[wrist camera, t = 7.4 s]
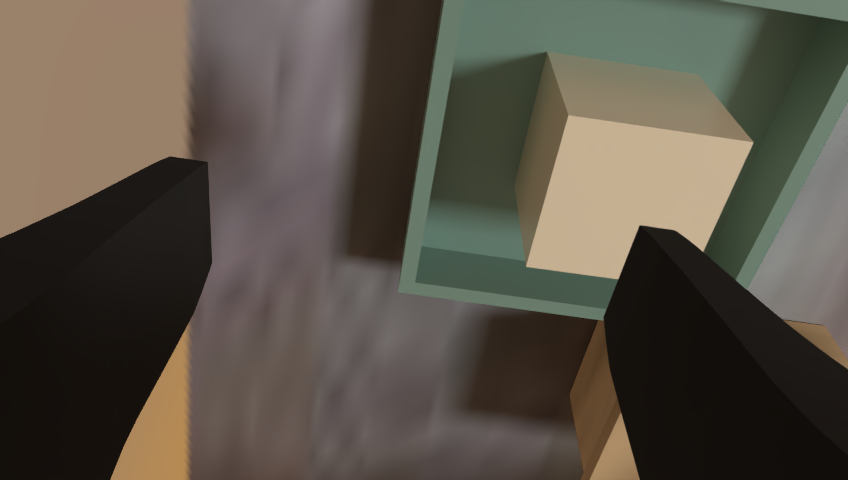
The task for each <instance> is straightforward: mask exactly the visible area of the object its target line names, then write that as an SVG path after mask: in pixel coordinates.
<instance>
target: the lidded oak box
mask: <svg viewBox="0 0 848 480" xmlns="http://www.w3.org/2000/svg"><path fill="white" fill-rule="evenodd" d="M783 321H785V322H786V323H787V324H788V325H790V326H791V327H792V328H793V329H795V330H796V331H797V332H799V333H800V334H801V335H802V336H804V337H805V338H806V339H808V340H809V341H810V342H812V343H813V344H814V345H815V346H817V347H818V348H819V349H821V350H822V351H823V352H825V353H826V354H827V355H829V356H830V357H832V358H833V359H834V360H836V361H837V362H838V363H840V364H841V365H843V366H844V367H846V368H847V369H848V360H847V358H846V357H845V355H844V354H843V352H842V351H841V349H840V348H839V346H838V345H837V343H836V342H835V341H834V339H833V338H832V336H831V335H830V333H829V332H828V330H827V329H826V327H825V326H822V325H815V324H808V323H801V322H793V321H786V320H783ZM569 396H570V401H571V406H572V412H573V417H574V423H575V428H576V434H577V439H578V444H579V450H580V455H581V461H582V466H583V472H584V473H583V475H582V477H581V479H580V480H640V479H639V475H638V472H637V468H636V464H635V461H634V457H633V454H632V450H631V446H630V443H629V439H628V436H627V432H626V428H625V425H624V421H623V418H622V414H621V410H620V407H619V403H618V399H617V395H616V392H615V388H614V384H613V380H612V376H611V372H610V368H609V361H608V354H607V347H606V337H605V328H604V321H602V320H598V322H597V325H596V327H595V330H594V332H593V335H592V338H591V340H590V343H589V345H588V348H587V350H586V353H585V356H584V358H583V361H582V363H581V366H580V369H579V371H578V374H577V376H576V379H575V381H574V384H573V387H572V389H571V392H570V394H569Z"/></svg>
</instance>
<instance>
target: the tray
mask: <svg viewBox="0 0 848 480" xmlns="http://www.w3.org/2000/svg"><path fill="white" fill-rule="evenodd" d="M547 52H552V53H559V54H566V55H572V56H579V57H586V58H592V59H599V60H606V61H612V62H619V63H625V64H632V65H639V66H645V67H652V68H659V69H665V70H672V71H679V72H685V73H692V74H698V75H699V77H700V78H701V79H702V80H703V81H704V83H705V84H706V85H707V86H708V87H709V89H710V90H711V91H712V92H713V94H714V95H715V96H716V97H717V98H718V100H719V101H720V102H721V103H722V104H723V106H724V107H725V108H726V109H727V111H728V112H729V113H730V114H731V115H732V117H733V118H734V119H735V120H736V121H737V123H738V124H739V125H740V126H741V128H742V129H743V130H744V131H745V132H746V134H747V135H748V136H749V137H750V138H751V140H752V141H753V142H754V143H753V145H752V147H751V149H750V151H749V154H748V156H747V158H746V160H745V162H744V164H743V167H742V169H741V171H740V173H739V175H738V177H737V180H736V182H735V184H734V186H733V188H732V190H731V193H730V195H729V197H728V199H727V201H726V204H725V206H724V208H723V210H722V212H721V214H720V217H719V219H718V221H717V223H716V225H715V227H714V230H713V232H712V234H711V236H710V238H709V240H708V243H707V245H706V247H705V249H704V251H703V252H704V253H705V254H706V255H707V256H708V257H710V258H711V259H712V260H713V261H714V262H715V263H717V264H718V265H719V266H720V267H721V268H722V269H723V270H725V271H726V272H727V273H728V274H729V275H730V276H731V277H733V278H734V279H735V280H736V281H737V282H738V283H739V284H741V285H742V286H743V287H744V288H745V289H746V290H747V288H748V287H749V285H750V283H751V281H752V279H753V277H754V275H755V274H756V272H757V270H758V268H759V266H760V264H761V262H762V261H763V259H764V257H765V255H766V253H767V251H768V249H769V247H770V246H771V244H772V242H773V240H774V238H775V236H776V234H777V233H778V231H779V229H780V227H781V225H782V223H783V221H784V220H785V218H786V216H787V214H788V212H789V210H790V208H791V207H792V205H793V203H794V201H795V199H796V197H797V195H798V193H799V192H800V190H801V188H802V186H803V184H804V182H805V180H806V179H807V177H808V175H809V173H810V171H811V169H812V167H813V166H814V164H815V162H816V160H817V158H818V156H819V154H820V153H821V151H822V149H823V147H824V145H825V143H826V141H827V139H828V138H829V136H830V134H831V132H832V130H833V128H834V126H835V125H836V123H837V121H838V119H839V117H840V115H841V113H842V112H843V110H844V108H845V106H846V104H847V102H848V0H442V2H441V9H440V15H439V21H438V28H437V34H436V41H435V47H434V53H433V60H432V66H431V73H430V79H429V85H428V92H427V98H426V105H425V111H424V117H423V124H422V130H421V137H420V143H419V150H418V156H417V162H416V169H415V175H414V182H413V188H412V194H411V201H410V207H409V214H408V220H407V226H406V233H405V239H404V246H403V253H402V262H401V271H400V279H399V288H398V292H400V293H407V294H414V295H422V296H429V297H436V298H443V299H450V300H458V301H465V302H472V303H479V304H486V305H494V306H501V307H508V308H515V309H523V310H530V311H537V312H544V313H551V314H559V315H566V316H573V317H580V318H587V319H595V320H602V321H604V318H603V317H604V314H605V312H606V309H607V307H608V304H609V302H610V299H611V297H612V294H613V292H614V289H615V286H616V284H617V281H618V279H612V278H605V277H597V276H590V275H583V274H575V273H568V272H560V271H553V270H546V269H538V268H531V267H526V264H525V257H524V250H523V243H522V236H521V229H520V222H519V215H518V208H517V201H516V194H515V187H514V184H515V180H516V176H517V172H518V168H519V164H520V160H521V156H522V152H523V148H524V144H525V140H526V136H527V131H528V127H529V123H530V119H531V115H532V111H533V107H534V103H535V99H536V95H537V91H538V87H539V83H540V79H541V75H542V71H543V67H544V63H545V58H546V54H547Z"/></svg>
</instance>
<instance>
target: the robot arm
mask: <svg viewBox="0 0 848 480" xmlns="http://www.w3.org/2000/svg"><path fill="white" fill-rule="evenodd" d="M211 264H212V251H211V228H210V205H209V182H208V162H204V161H197V160H191V159H184V158H176V157H168V158H165V159H163V160H160V161H158V162H156V163H154V164H152V165H150V166H148V167H146V168H144V169H142V170H140V171H138V172H136V173H134V174H132V175H131V176H129V177H127V178H125V179H123V180H121V181H119V182H117V183H116V184H113V185H111V186H110V187H108V188H106V189H104V190H102V191H100V192H98V193H96V194H94V195H92V196H90V197H88V198H86V199H84V200H82V201H80V202H79V203H76V204H74V205H73V206H70V207H68V208H66V209H64V210H62V211H59V212H57V213H55V214H53V215H51V216H49V217H47V218H44V219H42V220H40V221H38V222H35V223H33V224H31V225H29V226H27V227H25V228H22V229H20V230H18V231H16V232H14V233H11V234H9V235H6V236H4V237H2V238H0V480H110V479H111V476H112V474H113V471H114V469H115V466H116V464H117V461H118V459H119V456H120V454H121V451H122V449H123V447H124V444H125V442H126V440H127V438H128V436H129V434H130V432H131V430H132V428H133V426H134V424H135V421H136V420H137V418H138V416H139V414H140V412H141V410H142V409H143V406H144V405H145V403H146V401H147V399H148V397H149V396H150V394H151V392H152V390H153V388H154V386H155V385H156V383H157V381H158V379H159V377H160V375H161V373H162V371H163V370H164V368H165V366H166V364H167V362H168V360H169V359H170V357H171V355H172V353H173V351H174V349H175V348H176V345H177V344H178V342H179V340H180V338H181V336H182V334H183V333H184V331H185V329H186V327H187V325H188V323H189V321H190V319H191V317H192V315H193V313H194V311H195V309H196V306H197V303H198V301H199V298H200V295H201V293H202V290H203V287H204V284H205V281H206V279H207V276H208V273H209V270H210V267H211ZM603 318H604V328H605V337H606V347H607V354H608V361H609V368H610V372H611V376H612V380H613V384H614V388H615V392H616V395H617V399H618V403H619V407H620V410H621V414H622V418H623V421H624V425H625V428H626V432H627V436H628V439H629V443H630V446H631V450H632V454H633V457H634V461H635V464H636V468H637V472H638V475H639V479H640V480H848V369H847V368H846V367H844V366H843V365H841V364H840V363H838V362H837V361H836V360H834V359H833V358H832V357H830V356H829V355H827V354H826V353H825V352H823V351H822V350H821V349H819V348H818V347H817V346H815V345H814V344H813V343H812V342H810V341H809V340H808V339H806V338H805V337H804V336H802V335H801V334H800V333H799V332H797V331H796V330H795V329H793V328H792V327H791V326H790V325H788V324H787V323H786V322H785V321H783V320H782V319H781V318H780V317H778V316H777V315H776V314H775V313H774V312H772V311H771V310H770V309H769V308H768V307H766V306H765V305H764V304H763V303H762V302H760V301H759V300H758V299H757V298H756V297H755V296H753V295H752V294H751V293H750V292H749V291H748V290H746V289H745V288H744V287H743V286H742V285H741V284H739V283H738V282H737V281H736V280H735V279H734V278H733V277H731V276H730V275H729V274H728V273H727V272H726V271H725V270H723V269H722V268H721V267H720V266H719V265H718V264H717V263H715V262H714V261H713V260H712V259H711V258H710V257H708V256H707V255H706V254H705V253H704V252H703V251H701V250H700V249H699V248H698V247H697V246H695V245H694V244H693V243H692V242H690V241H689V240H688V239H687V238H685V237H684V236H683V235H681V234H680V233H678V232H677V231H675V230H670V229H663V228H656V227H649V226H642V225H639V228H638V230H637V233H636V236H635V238H634V241H633V243H632V246H631V248H630V251H629V253H628V256H627V258H626V261H625V264H624V266H623V269H622V271H621V274H620V276H619V279H618V281H617V284H616V286H615V289H614V292H613V294H612V297H611V299H610V302H609V304H608V307H607V309H606V312H605V314H604V317H603Z"/></svg>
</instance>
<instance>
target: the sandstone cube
mask: <svg viewBox="0 0 848 480" xmlns="http://www.w3.org/2000/svg"><path fill="white" fill-rule="evenodd" d="M753 143H754V142H753V141H752V140H751V138H750V137H749V136H748V135H747V134H746V132H745V131H744V130H743V129H742V128H741V126H740V125H739V124H738V123H737V121H736V120H735V119H734V118H733V117H732V115H731V114H730V113H729V112H728V111H727V109H726V108H725V107H724V106H723V104H722V103H721V102H720V101H719V100H718V98H717V97H716V96H715V95H714V94H713V92H712V91H711V90H710V89H709V87H708V86H707V85H706V84H705V83H704V81H703V80H702V79H701V78H700V77H699V75H698V74H692V73H685V72H679V71H672V70H665V69H659V68H652V67H645V66H639V65H632V64H625V63H619V62H612V61H606V60H599V59H592V58H586V57H579V56H572V55H566V54H559V53H552V52H547V54H546V58H545V63H544V67H543V71H542V75H541V79H540V83H539V87H538V91H537V95H536V99H535V103H534V107H533V111H532V115H531V119H530V123H529V127H528V131H527V136H526V140H525V144H524V148H523V152H522V156H521V160H520V164H519V168H518V172H517V176H516V180H515V184H514V187H515V194H516V201H517V208H518V215H519V222H520V229H521V236H522V243H523V250H524V257H525V264H526V267H531V268H538V269H546V270H553V271H560V272H568V273H575V274H583V275H590V276H597V277H605V278H612V279H619V276H620V274H621V271H622V269H623V266H624V264H625V261H626V258H627V256H628V253H629V251H630V248H631V246H632V243H633V241H634V238H635V236H636V233H637V230H638V228H639V225H642V226H649V227H656V228H663V229H670V230H675V231H677V232H678V233H680V234H681V235H683V236H684V237H685V238H687V239H688V240H689V241H690V242H692V243H693V244H694V245H695V246H697V247H698V248H699V249H700V250H701V251H704V249H705V247H706V245H707V243H708V240H709V238H710V236H711V234H712V232H713V230H714V227H715V225H716V223H717V221H718V219H719V217H720V214H721V212H722V210H723V208H724V206H725V204H726V201H727V199H728V197H729V195H730V193H731V190H732V188H733V186H734V184H735V182H736V180H737V177H738V175H739V173H740V171H741V169H742V167H743V164H744V162H745V160H746V158H747V156H748V154H749V151H750V149H751V147H752V145H753Z"/></svg>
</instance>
